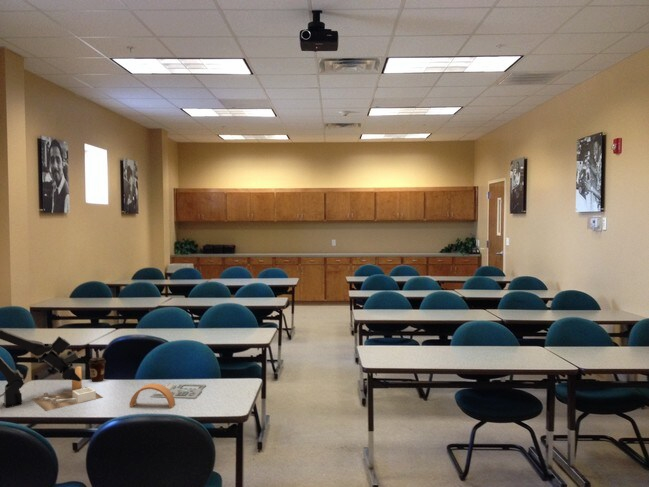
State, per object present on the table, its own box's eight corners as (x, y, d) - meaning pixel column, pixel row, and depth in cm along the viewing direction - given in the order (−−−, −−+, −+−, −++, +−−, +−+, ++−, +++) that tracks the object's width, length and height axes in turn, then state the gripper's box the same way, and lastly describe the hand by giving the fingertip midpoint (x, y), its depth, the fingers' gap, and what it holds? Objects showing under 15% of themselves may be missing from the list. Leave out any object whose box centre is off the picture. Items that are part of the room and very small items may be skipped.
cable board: (45, 413, 237) (45, 405, 237) (31, 401, 253) (31, 394, 252) (103, 399, 255) (103, 392, 255) (87, 388, 271) (86, 382, 270)
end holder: (78, 403, 247) (78, 394, 247) (72, 398, 253) (72, 390, 253) (95, 398, 253) (95, 390, 252) (89, 394, 259) (89, 387, 258)
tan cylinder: (73, 394, 260) (73, 369, 259) (70, 391, 263) (70, 367, 262) (83, 391, 263) (82, 367, 262) (80, 389, 266) (79, 365, 265)
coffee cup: (93, 385, 276) (93, 361, 275) (85, 382, 281) (85, 359, 280) (109, 381, 283) (108, 358, 282) (100, 378, 288) (100, 355, 287)
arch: (134, 403, 250) (134, 382, 250) (175, 404, 249) (174, 383, 248) (129, 407, 244) (129, 386, 244) (170, 408, 243) (170, 387, 242)
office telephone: (149, 393, 258) (165, 381, 278) (149, 399, 258) (166, 385, 278) (195, 394, 255) (208, 381, 275) (195, 400, 255) (208, 386, 275)
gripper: (69, 351, 252) (94, 370, 258) (65, 343, 268) (89, 361, 274) (51, 370, 248) (77, 388, 254) (48, 361, 264) (72, 378, 270)
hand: (79, 378), depth 263 cm, fingers open, 7 cm apart
